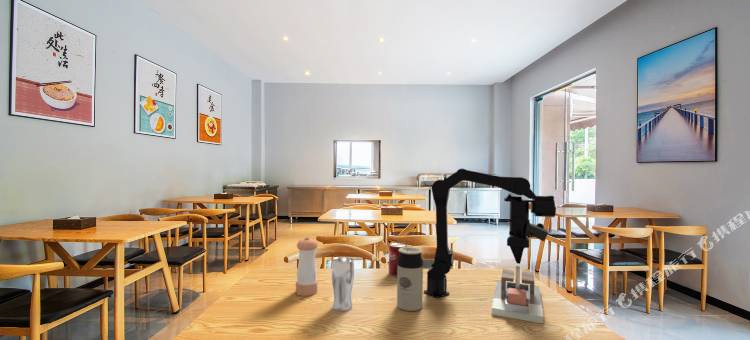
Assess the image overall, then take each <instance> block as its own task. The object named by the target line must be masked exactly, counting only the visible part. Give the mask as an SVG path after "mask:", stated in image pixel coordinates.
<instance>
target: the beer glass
mask: <svg viewBox="0 0 750 340" xmlns="http://www.w3.org/2000/svg"><path fill="white" fill-rule="evenodd" d="M354 260H355V259H354V258H352V257H349V256H337V257H334V258H332V261H331V283H332V288H333V297H334V299H333V303H332V304H333V305H332V309H333V310H334V311H335V312H336V311H337V312H348V311H350V310H352V308H353V302H352V301H353V300H352V292H353V291H352V290H353V285H354V279H355V263H354Z"/></svg>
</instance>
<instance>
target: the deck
mask: <svg viewBox="0 0 750 340" xmlns="http://www.w3.org/2000/svg"><path fill="white" fill-rule="evenodd" d="M509 288H515V282H509V281H506V290H505V298H506V296H508V289H509ZM520 289H522V290H526V295H527V298H526V299H529V314H525V313H519V312H513V311H507V310H505V298H504V299H501V280H497V281H496V285H495V290H494V296H493V300H492V304H491V305H492V306H491V315H492V316H493V315H494V316H498V317H504V318H510V319H514V320H515V319H516V320H522V321H526V322H527V321H528V322H531V323H532V322H533V323H539V324H544V317H545V316H544V310H543V304H542V297H541V296H542V295H541V291H540V285H536V284H534V304H530V284H524V283H520Z"/></svg>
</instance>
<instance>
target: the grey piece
mask: <svg viewBox="0 0 750 340" xmlns="http://www.w3.org/2000/svg"><path fill="white" fill-rule="evenodd" d="M520 276H521V267H520V266H515V279H514V280H515V282H514V283H515V289H520V284H521V283H520V282H521V281H520V280H521V278H520ZM505 310H507V311H513V312H519V313H525V314H529V299H526V306H522V305H516V304H510V303H508V296H506V298H505Z"/></svg>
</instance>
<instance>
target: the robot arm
mask: <svg viewBox="0 0 750 340" xmlns="http://www.w3.org/2000/svg"><path fill="white" fill-rule="evenodd" d="M462 181H467V182H471V183H475V184H481V185H484V186H485V185H486V186H491V187H495V188H499V189H500V190H504V191H507V192H509V193H508V195H507V196H506V197H504V198H503V201H504V202H508V203H509V219H508V223H509V231H508V235H509V236H508V237H507V239H506V246H507V247H509V248H510V251H511V253H512V255H513V258H514V260H515V262H516V264H521V262H522V258H523V253H524V250H525V249H529V248H530V236H531V237H534V238H537V239H538V240H540V241H542V242H545V241H546V239H547V237H548V234H549V230H548V229H546V228H545V226H544V223H542V222H538V223H537V224H533V223H531V219H530V215H529V214H533V216H534V217H541V218H542V217H543V218H544V217H545V218H555V217H556V213H557V207H556V201H555V196H554V195H536V193H535V192H533V190H532V189H531V183H530V181H529V180H528V179H527V178H525V177H522V176H502V175H501V176H500V175H494V174H489V173H483V172H479V171H474V170H468V169H466V168H459V169H457V170H456V171H455V172H454V173H452V174H451V175H449V176H447V177H446V178H444V179H442V178H441V179H437V180H435V181H434V182H433V183H432V185H431V192H432V197H433V201H434V205H435V222H436V223H435V228H436V249H435V254H434V257H433V258H434V260H433V263H432V264H430V265H429V267H428V269H427V272H426V276H427V277H426V289H425V290H423V293H425V294H427V295H429V296H431V297H434V298H436V299H437V298H441V297H445V296H448V295H450V292H449V291H447V287H448V285H447V283H448V281H447V274H448V273H449V272H450V271H451V268H452V267H453V266H454V258H453V255H454V249H451V250H450V248H449V234H448V233H449V231H448V202H449V197H450V191H451V189H452V188H453V187H455V186H456V185H458V184H459V183H461V182H462ZM510 193H512V194H514V196H513V195H511V194H510ZM515 195H517V196H515ZM522 196H524V197H526V198H527V199H523V198H522Z"/></svg>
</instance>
